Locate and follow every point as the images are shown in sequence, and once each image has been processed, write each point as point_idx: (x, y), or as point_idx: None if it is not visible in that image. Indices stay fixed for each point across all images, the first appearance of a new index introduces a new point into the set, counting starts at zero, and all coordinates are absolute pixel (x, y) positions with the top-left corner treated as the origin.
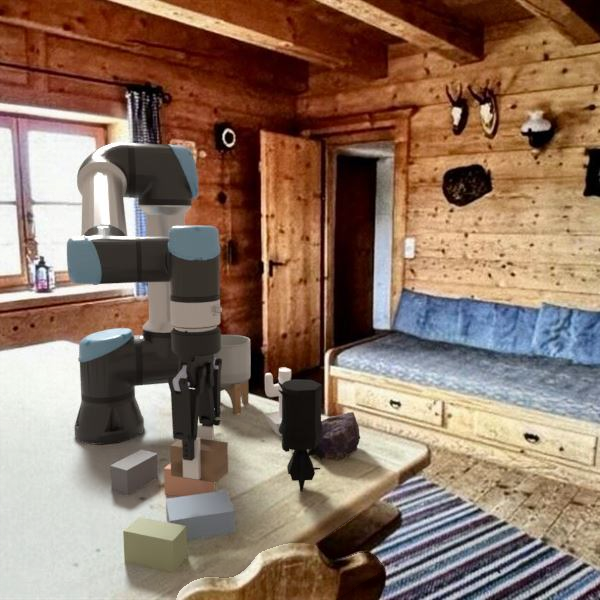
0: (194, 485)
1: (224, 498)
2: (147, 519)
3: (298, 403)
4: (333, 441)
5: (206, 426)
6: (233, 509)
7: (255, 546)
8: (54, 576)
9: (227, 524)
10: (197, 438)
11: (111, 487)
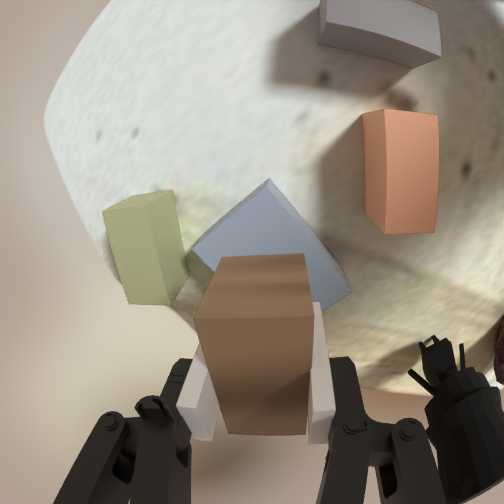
0: (375, 196)
1: None
2: (147, 227)
3: None
4: (500, 366)
5: (325, 431)
6: None
7: None
8: (73, 133)
9: None
10: (201, 438)
11: (320, 3)
